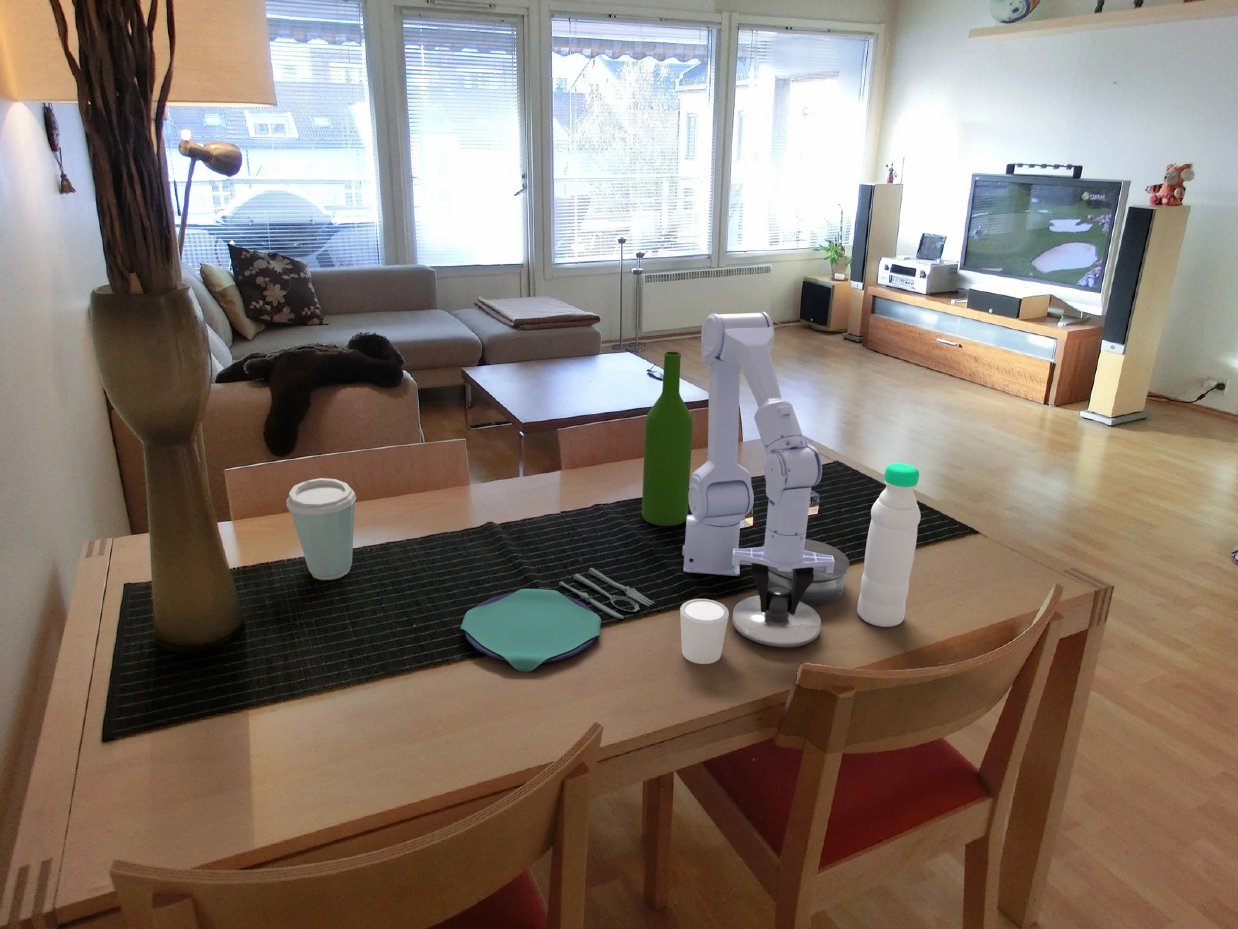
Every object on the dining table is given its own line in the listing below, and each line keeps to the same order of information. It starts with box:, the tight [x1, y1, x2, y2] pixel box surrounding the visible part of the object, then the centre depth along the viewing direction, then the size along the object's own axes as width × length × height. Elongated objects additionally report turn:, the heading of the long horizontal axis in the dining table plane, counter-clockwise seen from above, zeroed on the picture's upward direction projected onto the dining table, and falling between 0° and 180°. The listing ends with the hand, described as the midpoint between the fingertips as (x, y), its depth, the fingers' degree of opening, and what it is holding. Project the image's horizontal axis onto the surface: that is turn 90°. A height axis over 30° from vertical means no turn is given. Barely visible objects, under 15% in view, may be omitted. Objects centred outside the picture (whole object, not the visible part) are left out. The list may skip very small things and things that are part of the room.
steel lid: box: [732, 587, 822, 648], centre depth 128 cm, size 13×13×5 cm
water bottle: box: [856, 462, 922, 628], centre depth 129 cm, size 7×7×25 cm
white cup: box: [679, 598, 730, 665], centre depth 121 cm, size 7×7×7 cm
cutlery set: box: [459, 567, 656, 672], centre depth 130 cm, size 20×30×2 cm, turn 134°
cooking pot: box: [760, 538, 850, 607], centre depth 142 cm, size 15×15×5 cm
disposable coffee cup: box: [285, 477, 357, 581], centre depth 139 cm, size 11×11×15 cm
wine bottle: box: [641, 351, 694, 527], centre depth 161 cm, size 9×9×32 cm
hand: (777, 610), depth 128 cm, fingers closed on steel lid, 4 cm apart
